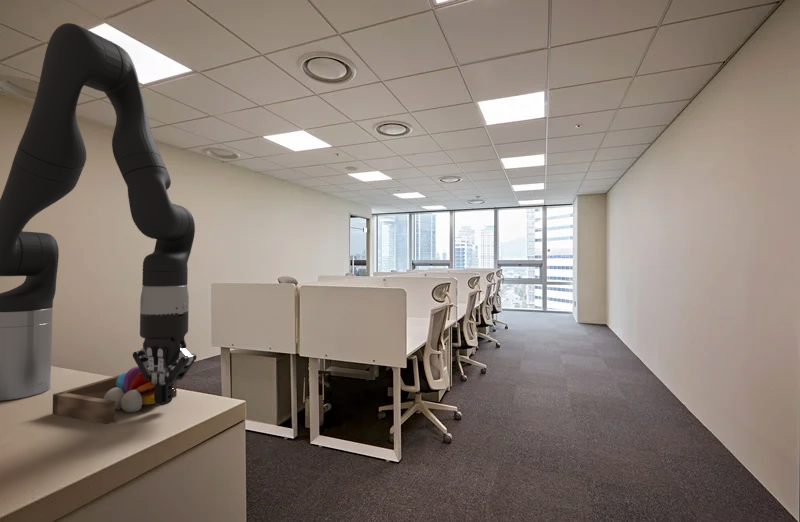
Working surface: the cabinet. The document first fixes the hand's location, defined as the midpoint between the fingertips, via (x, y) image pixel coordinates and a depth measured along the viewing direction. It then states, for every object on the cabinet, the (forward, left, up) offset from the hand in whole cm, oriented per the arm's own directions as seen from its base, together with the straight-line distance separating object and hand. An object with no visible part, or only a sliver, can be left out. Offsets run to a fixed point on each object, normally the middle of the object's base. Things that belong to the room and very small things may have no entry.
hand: (163, 403), depth 67 cm
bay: (-10, 0, -2) cm, 10 cm away
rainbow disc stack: (-7, +1, -2) cm, 7 cm away
